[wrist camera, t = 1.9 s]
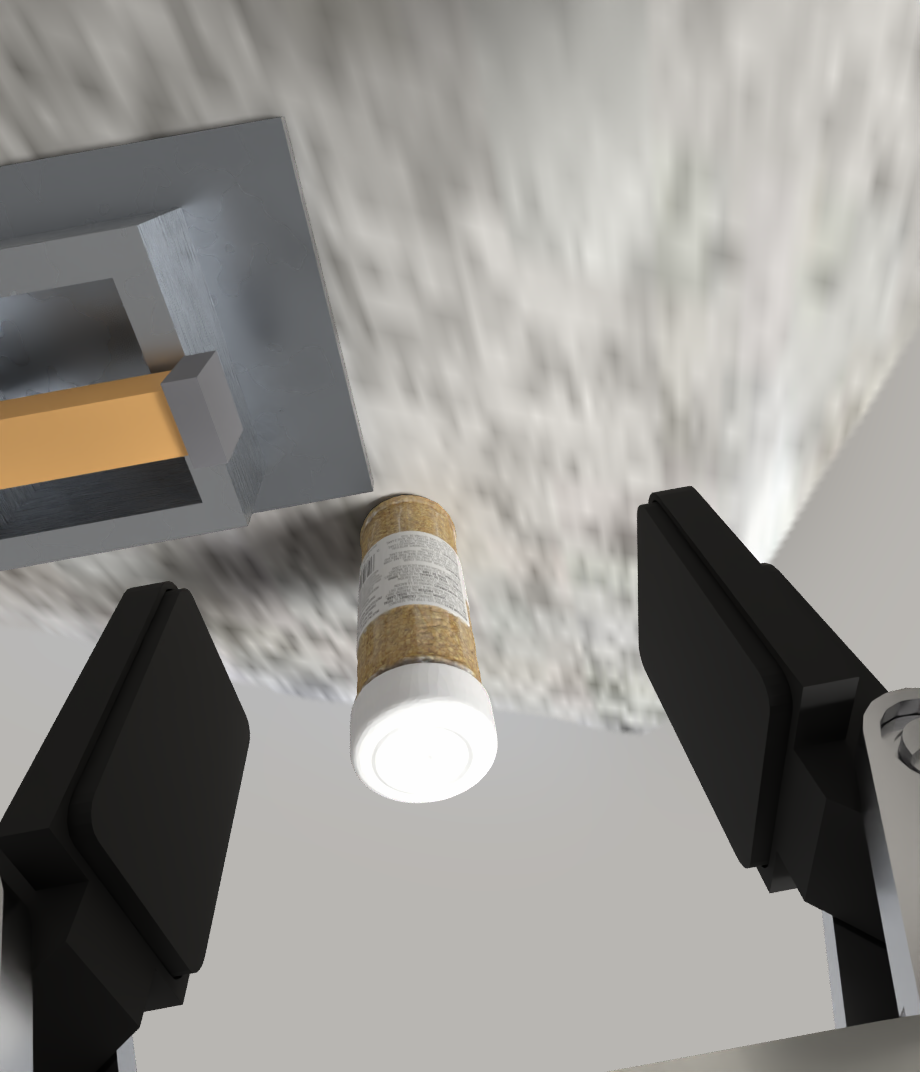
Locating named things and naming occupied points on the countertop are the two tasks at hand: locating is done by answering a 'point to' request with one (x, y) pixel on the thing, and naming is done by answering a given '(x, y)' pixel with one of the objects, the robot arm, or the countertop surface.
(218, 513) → the dock
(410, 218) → the countertop surface
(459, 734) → the sprinkles bottle
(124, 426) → the lock bar
